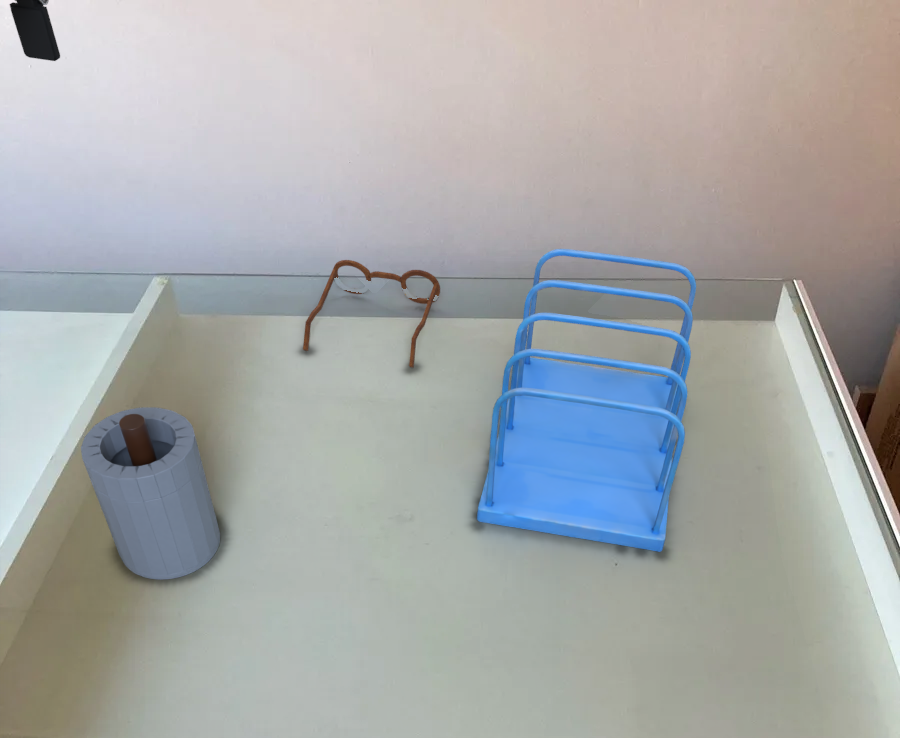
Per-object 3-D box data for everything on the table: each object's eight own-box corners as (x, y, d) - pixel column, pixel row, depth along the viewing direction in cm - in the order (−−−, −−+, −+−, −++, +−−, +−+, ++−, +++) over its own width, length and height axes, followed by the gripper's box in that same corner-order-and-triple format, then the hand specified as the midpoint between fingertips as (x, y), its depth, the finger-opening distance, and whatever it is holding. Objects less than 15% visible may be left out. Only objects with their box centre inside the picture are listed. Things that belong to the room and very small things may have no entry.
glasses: (441, 307, 109) (441, 268, 105) (413, 370, 101) (412, 331, 97) (336, 291, 111) (333, 253, 107) (300, 352, 103) (295, 313, 99)
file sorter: (661, 555, 83) (698, 422, 72) (475, 525, 85) (482, 392, 74) (675, 391, 99) (708, 260, 87) (518, 369, 101) (529, 239, 90)
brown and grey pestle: (141, 548, 82) (99, 430, 72) (161, 521, 84) (123, 403, 74) (177, 557, 82) (140, 439, 71) (196, 529, 84) (162, 412, 73)
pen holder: (101, 566, 81) (59, 465, 72) (150, 500, 87) (117, 398, 78) (192, 589, 80) (161, 488, 71) (236, 520, 85) (213, 418, 76)
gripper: (-46, -215, 69) (30, 38, 82) (-216, -168, 58) (-97, 114, 71) (41, -208, 67) (104, 48, 81) (-117, -158, 57) (-14, 127, 70)
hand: (10, 79), depth 76 cm, fingers open, 9 cm apart
